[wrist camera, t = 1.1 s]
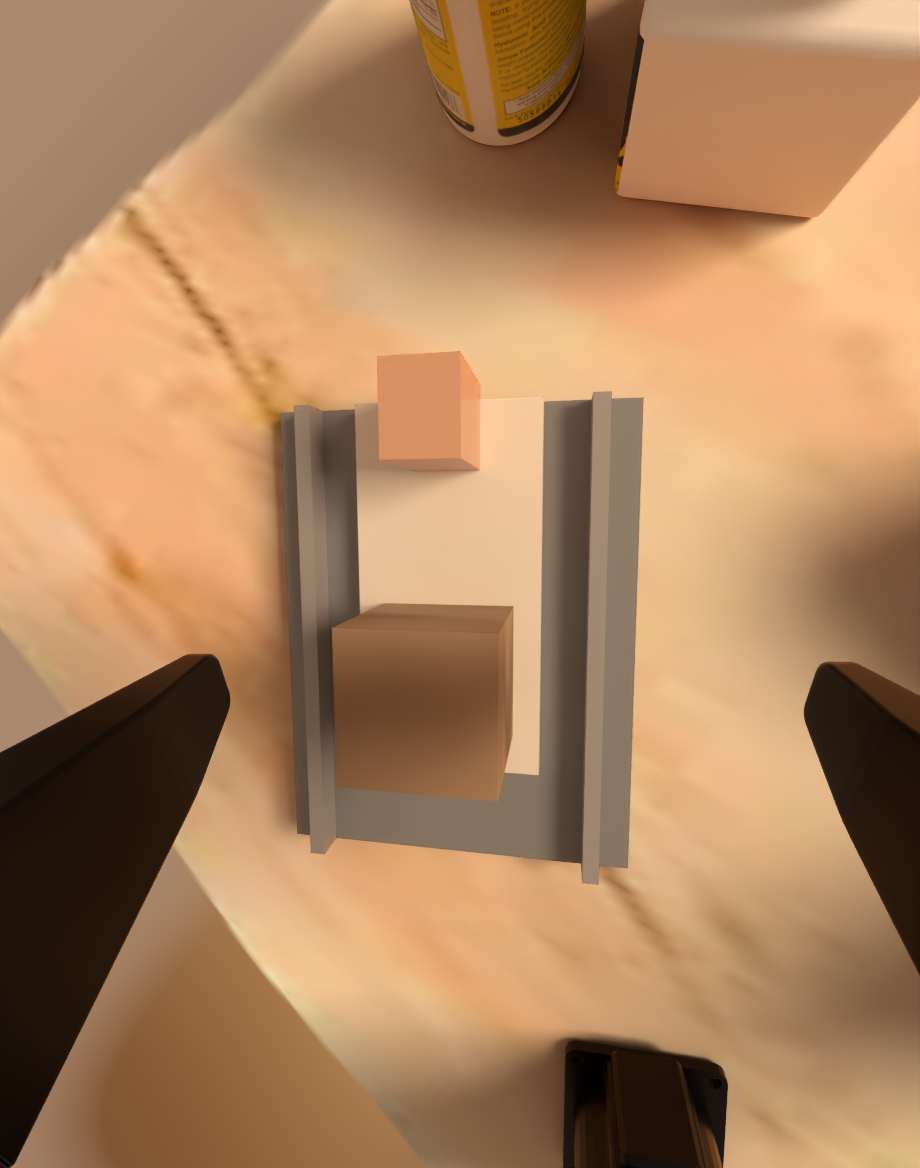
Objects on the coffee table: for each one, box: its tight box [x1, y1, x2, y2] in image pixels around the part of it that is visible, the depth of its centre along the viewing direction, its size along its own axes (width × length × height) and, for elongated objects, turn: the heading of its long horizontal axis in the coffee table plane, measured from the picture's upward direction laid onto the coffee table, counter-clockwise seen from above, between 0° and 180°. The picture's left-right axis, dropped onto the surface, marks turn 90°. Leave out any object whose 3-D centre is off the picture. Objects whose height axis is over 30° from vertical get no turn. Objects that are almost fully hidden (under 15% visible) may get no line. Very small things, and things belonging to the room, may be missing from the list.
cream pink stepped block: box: [355, 351, 544, 775], centre depth 19 cm, size 14×7×5 cm, turn 1°
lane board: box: [280, 391, 643, 885], centre depth 22 cm, size 18×14×2 cm
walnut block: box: [332, 603, 514, 801], centre depth 19 cm, size 5×5×5 cm
